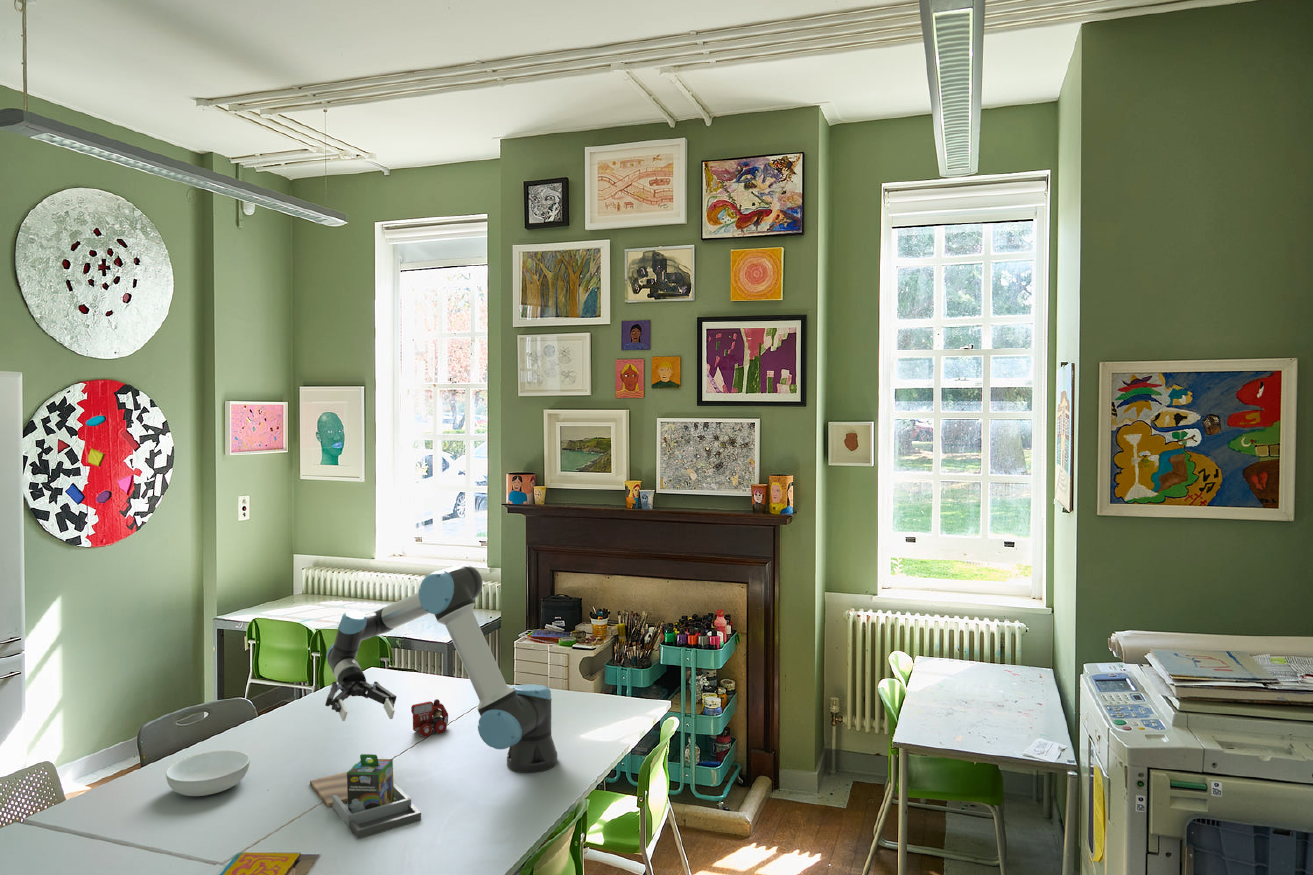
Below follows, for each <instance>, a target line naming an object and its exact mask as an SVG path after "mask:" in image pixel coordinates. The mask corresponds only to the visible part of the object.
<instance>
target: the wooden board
mask: <svg viewBox="0 0 1313 875" xmlns="http://www.w3.org/2000/svg"><path fill="white" fill-rule="evenodd" d="M347 772H348V771H344V772H339V773H337V774H332V775H328V776H324V777H320V778H315V779H312V780H310V781H309V784H310V786H311V787H313V788H312V789H313V790H314V791H315V793H316V794H317V795H318V796H319V798H320V799H321V800H322V801H323V803H324V804H325V805H326V807H327V808H330V807H332V796H333V795H337V796H338V797H339V799H340V800H341V801H342V802H343V803H344V804H345V803H348V797H347Z"/></svg>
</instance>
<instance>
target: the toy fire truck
mask: <svg viewBox="0 0 1313 875" xmlns="http://www.w3.org/2000/svg"><path fill="white" fill-rule="evenodd" d="M410 712H411V714H412V731H413V732H416V733H419V735H420V736H421V737H423V738H427V737H429V736H430V735H431V734H432V732H433V730H434V732H435V733H437V734H443V733H445V732H446V731H447V726H448V724H449V713H448V711H447V709H446V707H445V706H444V704H443V703H441V702H440V699H437V698H435V699H434V700H433V702H432V701H431V700H430V701H425V702H420V703H416V704H412V705H411V709H410Z"/></svg>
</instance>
